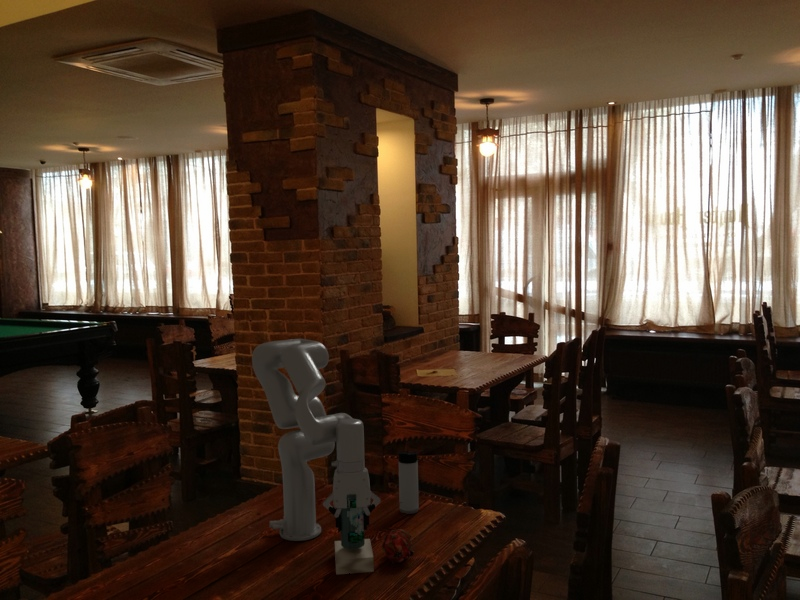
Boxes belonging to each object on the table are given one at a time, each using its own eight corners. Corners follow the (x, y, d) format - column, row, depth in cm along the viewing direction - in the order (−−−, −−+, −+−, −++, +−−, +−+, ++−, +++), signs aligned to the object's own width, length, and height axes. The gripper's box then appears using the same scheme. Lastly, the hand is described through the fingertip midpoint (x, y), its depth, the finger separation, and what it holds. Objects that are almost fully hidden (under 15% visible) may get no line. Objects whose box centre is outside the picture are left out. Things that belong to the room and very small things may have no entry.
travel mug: (396, 513, 227) (394, 453, 225) (403, 506, 233) (402, 447, 231) (414, 515, 224) (413, 454, 223) (421, 508, 231) (420, 449, 229)
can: (355, 550, 187) (353, 496, 186) (337, 546, 190) (335, 492, 189) (368, 542, 192) (366, 489, 191) (350, 537, 196) (348, 485, 194)
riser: (336, 574, 185) (335, 560, 185) (335, 554, 197) (334, 541, 197) (373, 571, 186) (373, 557, 186) (370, 552, 198) (369, 538, 198)
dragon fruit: (400, 553, 200) (401, 579, 189) (376, 538, 199) (375, 563, 188) (417, 531, 199) (419, 556, 187) (393, 516, 198) (393, 540, 186)
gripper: (318, 471, 185) (320, 536, 186) (383, 467, 187) (385, 532, 188) (318, 462, 192) (320, 525, 194) (381, 459, 194) (382, 521, 196)
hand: (352, 528), depth 191 cm, fingers closed on can, 6 cm apart
